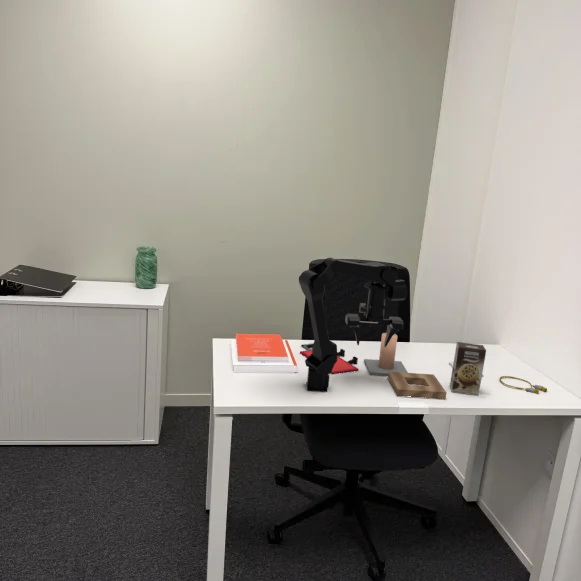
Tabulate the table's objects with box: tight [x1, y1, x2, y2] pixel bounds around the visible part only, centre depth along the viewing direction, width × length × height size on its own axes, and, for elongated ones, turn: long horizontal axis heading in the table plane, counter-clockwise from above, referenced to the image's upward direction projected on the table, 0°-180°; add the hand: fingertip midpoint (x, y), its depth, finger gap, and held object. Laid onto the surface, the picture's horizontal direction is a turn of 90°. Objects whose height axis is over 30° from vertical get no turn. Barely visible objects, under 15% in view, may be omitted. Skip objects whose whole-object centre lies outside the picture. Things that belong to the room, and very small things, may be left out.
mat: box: [363, 358, 409, 377], centre depth 224 cm, size 14×14×1 cm
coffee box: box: [449, 341, 487, 396], centre depth 208 cm, size 9×6×16 cm
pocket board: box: [387, 372, 447, 400], centre depth 208 cm, size 16×16×2 cm
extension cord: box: [498, 375, 548, 395], centre depth 219 cm, size 12×16×2 cm
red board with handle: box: [299, 342, 360, 375], centre depth 231 cm, size 30×3×15 cm
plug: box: [378, 332, 398, 370], centre depth 223 cm, size 6×6×12 cm
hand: (371, 345), depth 207 cm, fingers open, 9 cm apart
